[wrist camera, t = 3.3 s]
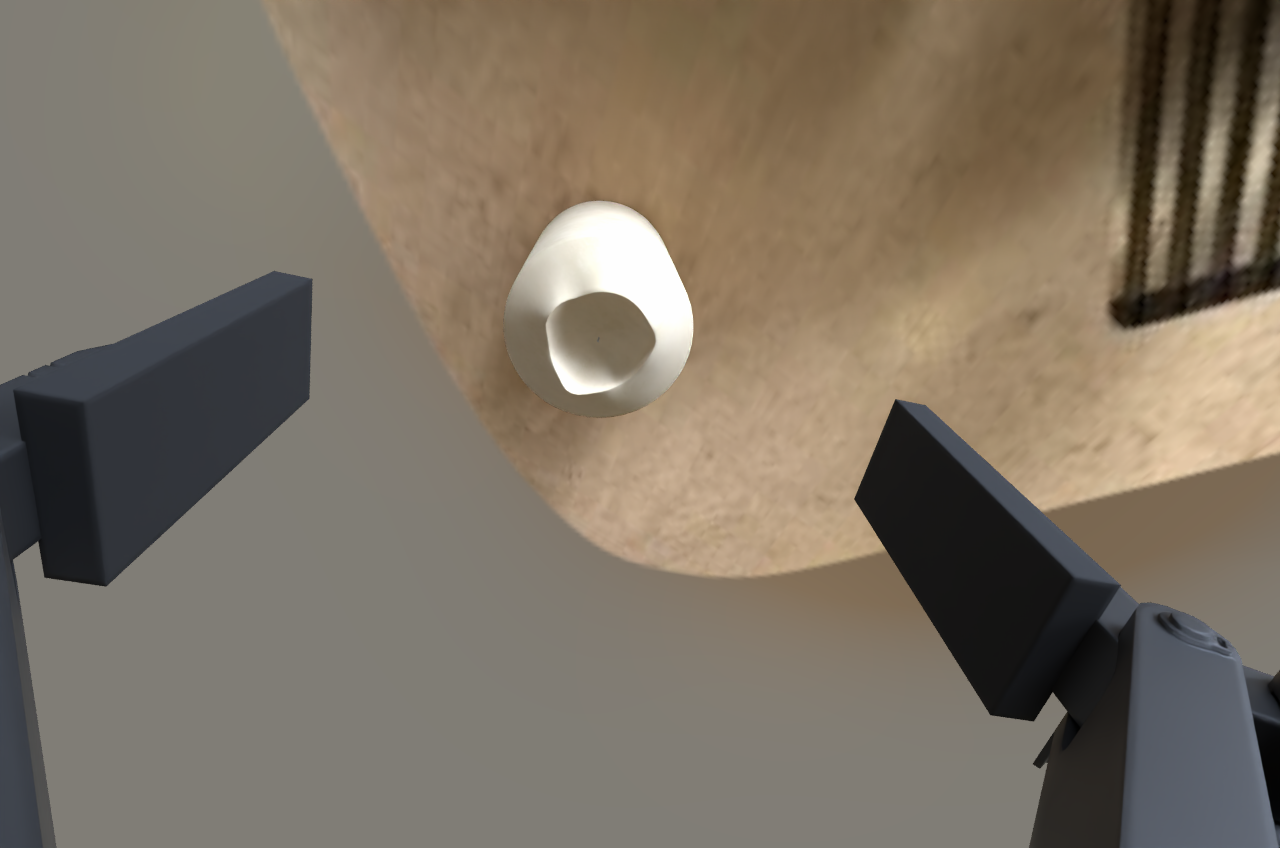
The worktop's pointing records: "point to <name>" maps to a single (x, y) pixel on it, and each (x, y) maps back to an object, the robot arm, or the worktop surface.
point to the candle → (598, 313)
